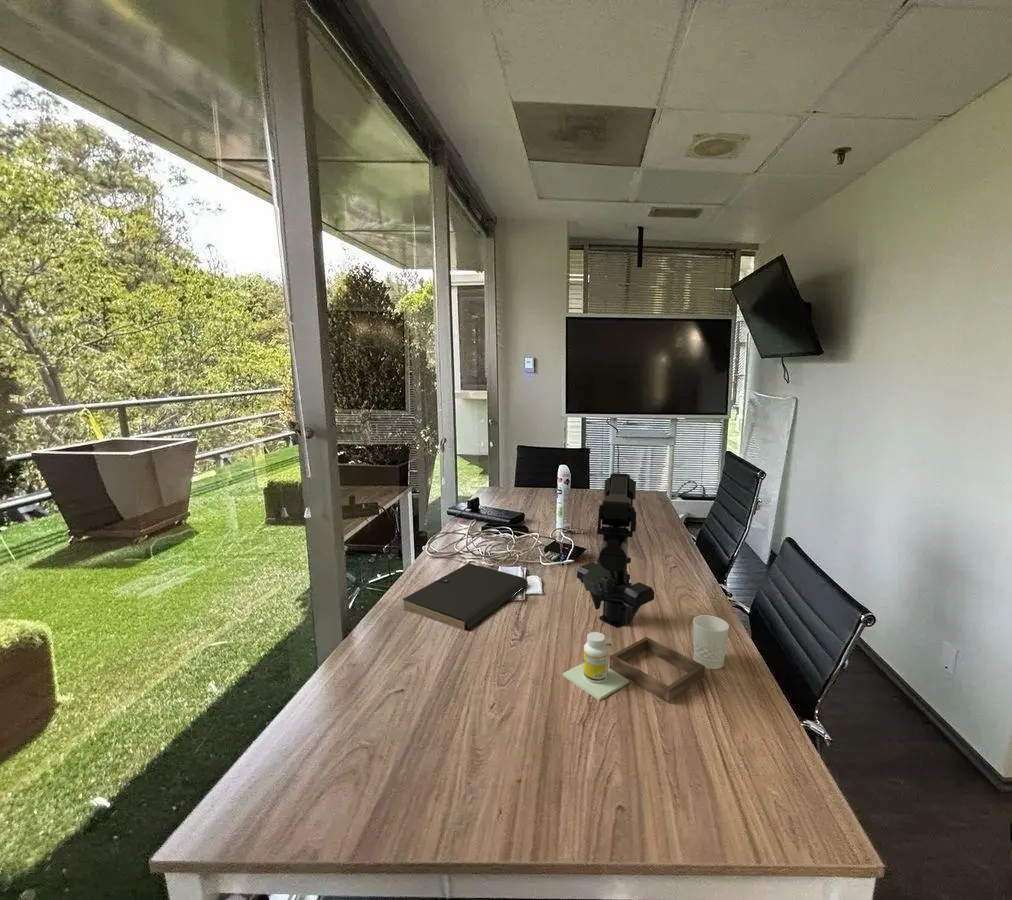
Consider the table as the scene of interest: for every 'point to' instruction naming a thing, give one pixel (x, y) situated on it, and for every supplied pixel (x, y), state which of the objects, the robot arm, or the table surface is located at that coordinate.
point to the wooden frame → (649, 683)
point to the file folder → (464, 595)
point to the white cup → (710, 641)
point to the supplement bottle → (595, 658)
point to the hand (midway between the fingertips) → (612, 616)
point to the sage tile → (596, 689)
